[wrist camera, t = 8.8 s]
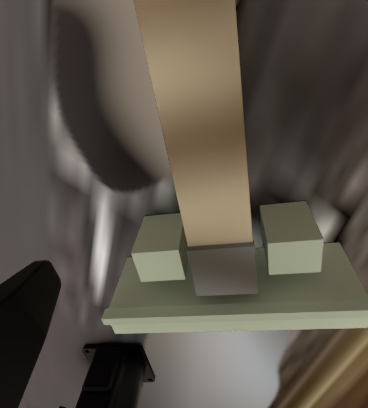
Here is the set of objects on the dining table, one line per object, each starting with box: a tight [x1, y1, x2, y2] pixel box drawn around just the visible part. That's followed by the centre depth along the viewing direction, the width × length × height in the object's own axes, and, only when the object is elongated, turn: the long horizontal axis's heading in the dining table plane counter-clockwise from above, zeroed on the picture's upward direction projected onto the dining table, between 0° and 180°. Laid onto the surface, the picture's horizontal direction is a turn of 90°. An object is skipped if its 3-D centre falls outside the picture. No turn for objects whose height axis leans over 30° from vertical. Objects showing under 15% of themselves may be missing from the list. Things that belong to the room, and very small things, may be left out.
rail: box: [134, 0, 258, 296], centre depth 15 cm, size 18×4×5 cm, turn 10°
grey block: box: [101, 201, 368, 334], centre depth 20 cm, size 6×16×6 cm, turn 100°
